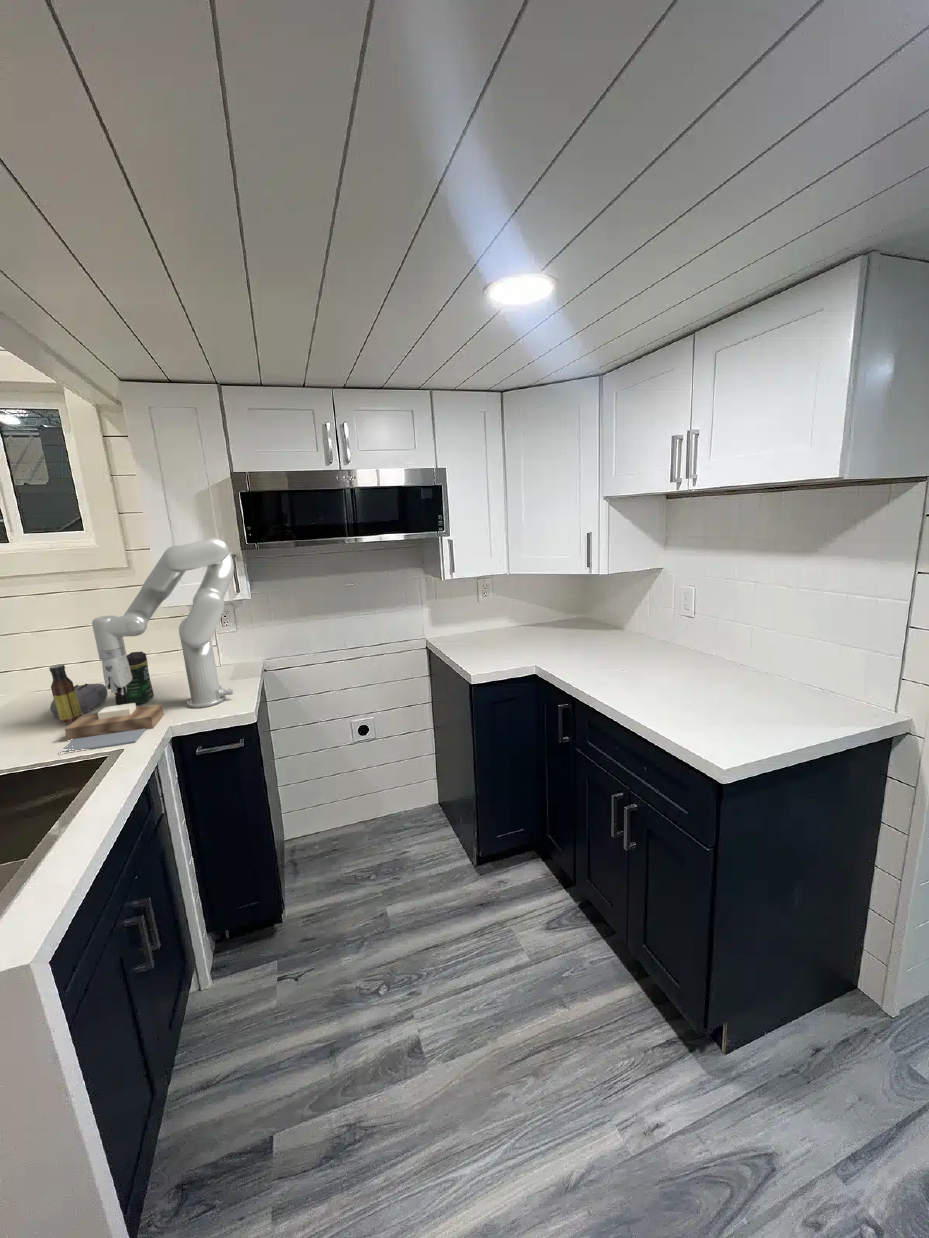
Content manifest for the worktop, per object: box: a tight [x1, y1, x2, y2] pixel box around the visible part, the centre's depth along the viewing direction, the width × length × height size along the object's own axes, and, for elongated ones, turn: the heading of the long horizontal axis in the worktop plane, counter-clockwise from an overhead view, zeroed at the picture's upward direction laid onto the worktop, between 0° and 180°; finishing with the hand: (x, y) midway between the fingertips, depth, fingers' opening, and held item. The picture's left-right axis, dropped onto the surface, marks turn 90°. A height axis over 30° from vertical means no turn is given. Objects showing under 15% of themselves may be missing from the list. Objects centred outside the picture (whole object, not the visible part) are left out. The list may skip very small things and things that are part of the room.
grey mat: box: [59, 728, 147, 753], centre depth 159 cm, size 20×10×1 cm, turn 105°
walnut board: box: [64, 703, 165, 740], centre depth 170 cm, size 24×12×4 cm, turn 105°
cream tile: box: [97, 703, 137, 719], centre depth 171 cm, size 9×6×2 cm, turn 105°
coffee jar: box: [126, 651, 155, 706], centre depth 193 cm, size 10×8×19 cm
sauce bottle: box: [48, 663, 83, 725], centre depth 177 cm, size 6×6×20 cm
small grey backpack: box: [49, 683, 108, 718], centre depth 190 cm, size 15×8×20 cm
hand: (123, 705), depth 176 cm, fingers closed
